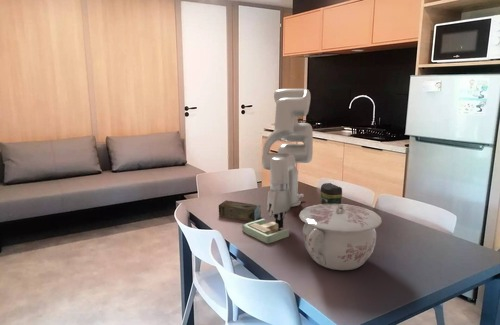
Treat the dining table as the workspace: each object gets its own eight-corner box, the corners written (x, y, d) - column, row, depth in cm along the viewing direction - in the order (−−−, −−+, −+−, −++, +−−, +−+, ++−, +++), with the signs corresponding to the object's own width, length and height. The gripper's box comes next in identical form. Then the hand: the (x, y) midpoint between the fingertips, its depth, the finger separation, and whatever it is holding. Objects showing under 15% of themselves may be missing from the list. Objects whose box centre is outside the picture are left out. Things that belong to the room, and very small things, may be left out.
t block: (267, 226, 159) (267, 219, 159) (283, 233, 152) (283, 225, 151) (249, 232, 153) (248, 224, 152) (264, 240, 145) (264, 232, 145)
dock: (263, 225, 162) (263, 218, 161) (288, 236, 149) (289, 229, 148) (242, 231, 155) (242, 224, 154) (267, 243, 142) (267, 236, 141)
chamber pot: (357, 242, 143) (360, 191, 138) (394, 277, 116) (399, 215, 112) (288, 247, 139) (288, 195, 135) (310, 284, 112) (311, 221, 108)
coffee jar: (344, 227, 158) (345, 186, 154) (328, 230, 155) (329, 188, 151) (332, 220, 167) (333, 181, 163) (316, 222, 164) (317, 182, 160)
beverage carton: (254, 222, 165) (254, 208, 164) (217, 217, 173) (217, 204, 172) (261, 217, 173) (261, 203, 171) (225, 212, 180) (225, 199, 179)
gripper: (285, 181, 160) (285, 220, 164) (260, 187, 151) (260, 228, 155) (298, 184, 154) (297, 225, 158) (272, 191, 145) (272, 234, 149)
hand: (279, 226), depth 156 cm, fingers closed
